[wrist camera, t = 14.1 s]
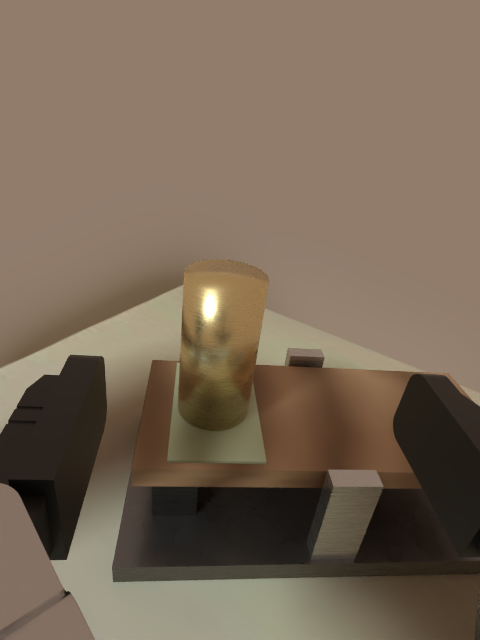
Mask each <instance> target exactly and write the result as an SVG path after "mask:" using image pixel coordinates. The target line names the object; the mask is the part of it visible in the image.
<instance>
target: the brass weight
mask: <svg viewBox="0 0 480 640" xmlns="http://www.w3.org/2000/svg"><path fill="white" fill-rule="evenodd" d="M268 283H269V278H268V276H267V275H266V274H265V273H264V272H263V271H262V270H260V269H258V268H256V267H254V266H251V265H248V264H245V263H242V262H237V261H231V260H203V261H199V262H195V263H193V264H190V265H189V266H187V267H186V269H185V271H184V288H183V308H182V328H181V347H180V367H179V387H178V411H179V413H180V415H181V417H182V418H183V419H184V420H185V421H186V422H187V423H189V424H190V425H192V426H194V427H196V428H199V429H203V430H208V431H223V430H228V429H231V428H234V427H236V426H238V425H239V424H240V423H242V422H243V421H244V419H245V418H246V416H247V414H248V409H249V402H250V396H251V390H252V384H253V377H254V371H255V365H256V359H257V352H258V346H259V340H260V334H261V327H262V321H263V315H264V309H265V302H266V295H267V290H268Z"/></svg>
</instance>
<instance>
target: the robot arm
mask: <svg viewBox="0 0 480 640" xmlns="http://www.w3.org/2000/svg"><path fill="white" fill-rule="evenodd" d="M106 412H107V400H106V382H105V364H104V358H103V357H102V356H84V355H70V356H69V357H68V359H67V361H66V363H65V365H64V367H63V369H62V371H61V373H60V375H44V376H42V377H41V378H40V379H39V380H37V381H36V382H35V383H34V384H32V385H31V386H30V387H28V388H27V389H26V391H25V393H24V394H23V396H22V398H21V400H20V401H19V403H18V405H17V409H15V410H14V412H13V413H12V415H11V417H10V419H9V420H8V421H9V422H8V424H6V426H5V427H4V429H3V431H2V432H1V434H0V640H95V639H94V637H93V635H92V633H91V631H90V628H89V626H88V624H87V622H86V620H85V618H84V616H83V614H82V612H81V610H80V608H79V606H78V604H77V602H76V600H75V599H74V597H73V596H72V594H71V593H70V592H69V591H68V592H66V591H65V590H64V588H63V586H62V585H61V583H60V580H59V578H58V576H57V574H56V572H55V570H54V568H53V566H52V563H51V561H50V560H67V556H68V553H69V549H70V546H71V542H72V539H73V536H74V532H75V529H76V525H77V522H78V518H79V515H80V511H81V508H82V504H83V501H84V497H85V494H86V490H87V487H88V483H89V480H90V476H91V473H92V469H93V466H94V462H95V459H96V455H97V452H98V449H99V445H100V442H101V438H102V435H103V431H104V427H105V421H106ZM393 432H394V436H395V439H396V441H397V443H398V444H399V446H400V448H401V450H402V452H403V454H404V455H405V457H406V459H407V461H408V463H409V465H410V467H411V468H412V470H413V472H414V474H415V476H416V478H417V479H418V481H419V483H420V485H421V487H422V489H423V490H424V492H425V494H426V496H427V498H428V500H429V502H430V503H431V505H432V507H433V509H434V511H435V513H436V514H437V516H438V518H439V520H440V522H441V524H442V525H443V527H444V529H445V531H446V533H447V535H448V537H449V538H450V540H451V542H452V544H453V546H454V548H455V549H456V551H457V553H458V555H459V557H480V407H479V406H478V405H477V404H475V403H474V402H473V401H471V400H470V399H469V398H467V397H466V396H464V395H462V394H461V393H460V391H459V390H458V389H457V388H456V387H455V385H454V384H453V383H452V382H451V381H450V380H449V378H448V377H446V376H445V375H437V374H417V373H416V374H413V375H412V376H411V377H410V379H409V381H408V383H407V386H406V388H405V391H404V393H403V395H402V398H401V400H400V403H399V405H398V408H397V410H396V412H395V415H394V419H393ZM475 640H480V589H479V599H478V610H477V620H476V630H475Z"/></svg>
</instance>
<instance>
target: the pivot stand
mask: <svg viewBox="0 0 480 640" xmlns="http://www.w3.org/2000/svg"><path fill="white" fill-rule="evenodd" d="M323 361H324V355H323V353H322V351H321V350H318V349H296V348H288V350H287V355H286V361H285V366H293V367H315V368H322V365H323ZM112 573H113V582H129V581H172V580H215V579H257V578H300V577H343V576H386V575H429V574H471V573H480V557H459V555H458V553H457V551H456V549H455V548H454V546H453V544H452V542H451V540H450V538H449V537H448V535H447V533H446V531H445V529H444V527H443V525H442V524H441V522H440V520H439V518H438V516H437V514H436V513H435V511H434V509H433V507H432V505H431V503H430V502H429V500H428V498H427V496H426V494H425V492H424V490H423V489H390V488H384V486H383V484H382V482H381V480H380V477H379V475H378V473H377V471H376V470H328V471H327V474H326V478H325V481H324V485H323V488H277V487H164V486H132V473H130V479H129V484H128V489H127V494H126V499H125V504H124V509H123V515H122V520H121V525H120V530H119V535H118V540H117V545H116V550H115V556H114V561H113V566H112Z"/></svg>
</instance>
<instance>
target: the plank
mask: <svg viewBox="0 0 480 640" xmlns="http://www.w3.org/2000/svg"><path fill="white" fill-rule="evenodd" d="M179 367H180V361H162V360H152V365H151V371H150V376H149V381H148V386H147V391H146V396H145V401H144V406H143V412H142V417H141V422H140V427H139V432H138V437H137V442H136V448H135V453H134V458H133V463H132V468H131V473H132V486H164V487H277V488H323V485H324V481H325V478H326V474H327V471H328V470H376V471H377V473H378V475H379V477H380V480H381V482H382V484H383V486H384V488H390V489H422V487H421V485H420V483H419V481H418V479H417V478H416V476H415V474H414V472H413V470H412V468H411V467H410V465H409V463H408V461H407V459H406V457H405V455H404V454H403V452H402V450H401V448H400V446H399V444H398V443H397V441H396V439H395V436H394V432H393V419H394V415H395V412H396V410H397V408H398V405H399V403H400V400H401V398H402V395H403V393H404V391H405V388H406V386H407V383H408V381H409V379H410V377H411V376H412V375H413V374H416V373H417V374H437V375H445V376H446V377H448V378H449V380H450V381H451V382H452V383H453V384H454V385H455V387H456V388H457V389H458V390H459V391H460V393H461V394H462V395H464V396H466V397H467V398H469V399H470V397H469V396H468V395H467V394H466V393H465V392H464V391H463V389H462V388H461V387H460V386H459V385H458V384H457V383H456V381H455V380H453V378H452V377H451V376H450V375H449V374H446V373H424V372H402V371H381V370H359V369H337V368H315V367H293V366H272V365H255V371H254V377H253V384H252V390H251V396H250V402H249V409H248V414H247V416H246V418H245V419H244V421H243V422H242V423H240V424H239V425H238V426H236V427H234V428H231V429H228V430H223V431H208V430H203V429H199V428H196V427H194V426H192V425H190V424H189V423H187V422H186V421H185V420H184V419H183V418H182V417H181V415H180V413H179V411H178V387H179ZM470 400H471V399H470ZM471 401H472V400H471Z"/></svg>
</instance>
